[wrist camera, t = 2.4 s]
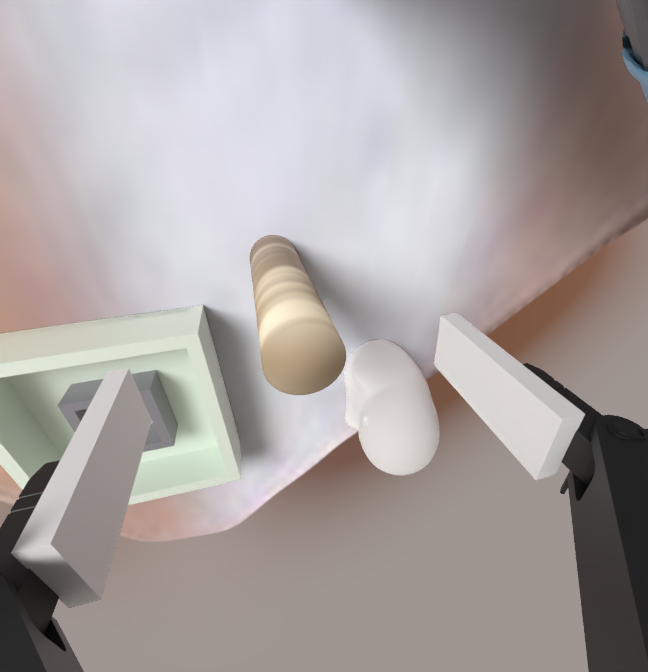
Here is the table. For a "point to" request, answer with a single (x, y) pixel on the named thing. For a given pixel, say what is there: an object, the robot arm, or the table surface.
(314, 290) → the beige wooden dowel
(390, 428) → the figurine
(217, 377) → the green square socket tray
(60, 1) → the table surface
